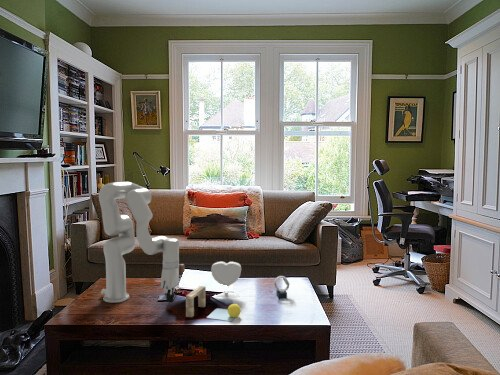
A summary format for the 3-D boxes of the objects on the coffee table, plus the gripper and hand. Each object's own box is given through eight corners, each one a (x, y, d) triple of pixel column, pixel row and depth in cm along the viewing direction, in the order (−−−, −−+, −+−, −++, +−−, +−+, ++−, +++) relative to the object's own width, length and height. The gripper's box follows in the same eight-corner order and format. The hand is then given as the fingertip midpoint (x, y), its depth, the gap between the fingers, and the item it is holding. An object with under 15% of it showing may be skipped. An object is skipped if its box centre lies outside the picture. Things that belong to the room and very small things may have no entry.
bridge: (186, 316, 183) (185, 295, 182) (200, 305, 197) (199, 285, 196) (191, 317, 182) (191, 296, 181) (205, 305, 196) (205, 286, 196)
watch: (290, 298, 207) (290, 277, 207) (275, 299, 206) (275, 278, 205) (287, 294, 213) (288, 274, 212) (273, 295, 212) (273, 275, 211)
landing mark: (206, 318, 181) (206, 317, 181) (216, 308, 193) (216, 308, 193) (231, 321, 178) (231, 321, 178) (240, 311, 189) (240, 311, 189)
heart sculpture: (211, 297, 208) (210, 263, 207) (212, 294, 213) (212, 261, 212) (240, 297, 208) (240, 263, 207) (241, 294, 213) (241, 261, 212)
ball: (232, 322, 180) (223, 313, 181) (237, 317, 185) (227, 308, 187) (240, 312, 178) (230, 303, 180) (245, 308, 184) (235, 299, 185)
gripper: (171, 259, 200) (170, 295, 202) (155, 267, 186) (155, 305, 188) (185, 261, 198) (184, 297, 200) (170, 269, 184) (169, 308, 185)
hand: (170, 301), depth 194 cm, fingers closed
